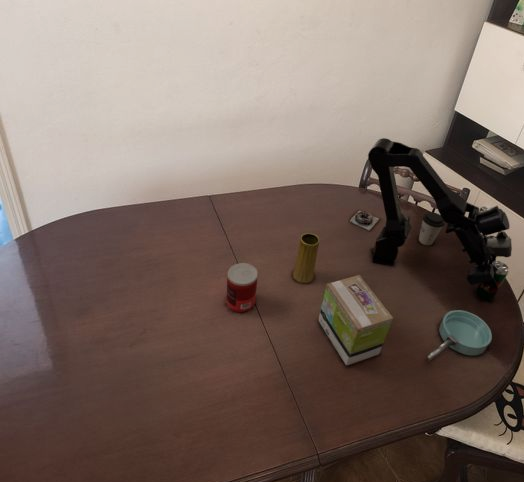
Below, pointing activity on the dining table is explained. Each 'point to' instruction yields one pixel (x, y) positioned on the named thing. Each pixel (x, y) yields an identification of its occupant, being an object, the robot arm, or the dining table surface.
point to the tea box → (354, 319)
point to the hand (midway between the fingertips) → (497, 282)
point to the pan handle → (442, 347)
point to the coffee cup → (430, 228)
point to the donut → (364, 220)
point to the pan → (466, 332)
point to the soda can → (500, 273)
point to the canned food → (241, 287)
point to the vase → (306, 258)
